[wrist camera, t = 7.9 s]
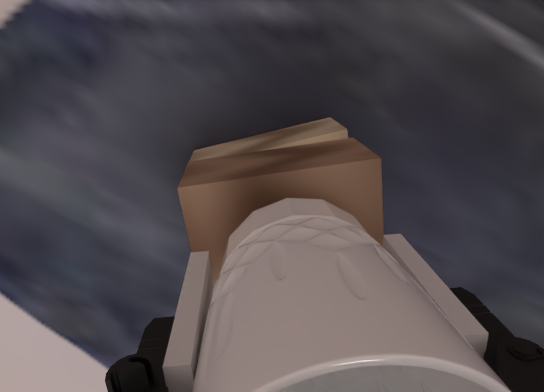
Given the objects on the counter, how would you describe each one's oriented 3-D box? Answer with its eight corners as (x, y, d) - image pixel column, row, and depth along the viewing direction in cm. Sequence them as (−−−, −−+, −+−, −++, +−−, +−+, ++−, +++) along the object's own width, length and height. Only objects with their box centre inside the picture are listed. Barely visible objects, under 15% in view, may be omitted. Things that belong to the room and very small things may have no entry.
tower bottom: (329, 116, 26) (347, 129, 21) (350, 237, 29) (370, 269, 25) (194, 149, 26) (185, 168, 21) (230, 267, 29) (229, 303, 25)
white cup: (189, 199, 16) (120, 401, 7) (378, 167, 16) (564, 321, 7) (226, 352, 19) (214, 644, 10) (388, 323, 19) (532, 584, 10)
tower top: (353, 137, 22) (381, 157, 17) (361, 278, 25) (386, 325, 21) (189, 161, 21) (177, 188, 17) (218, 301, 24) (214, 352, 20)
